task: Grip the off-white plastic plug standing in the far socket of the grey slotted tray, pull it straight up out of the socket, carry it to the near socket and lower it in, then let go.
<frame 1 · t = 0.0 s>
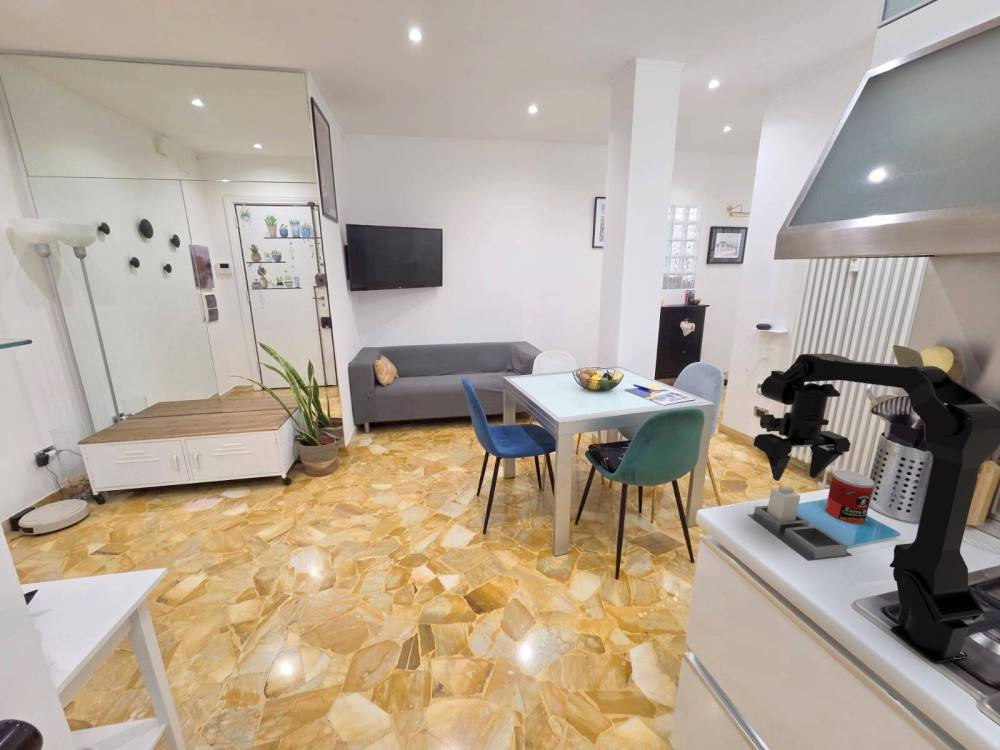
hand: (794, 478, 90), 15 cm above the worktop, fingers open, 9 cm apart
plug: (779, 522, 98), point 1 cm above the worktop, touching grey slotted tray
canned food: (843, 518, 101), on the worktop
grey slotted tray: (795, 536, 94), on the worktop
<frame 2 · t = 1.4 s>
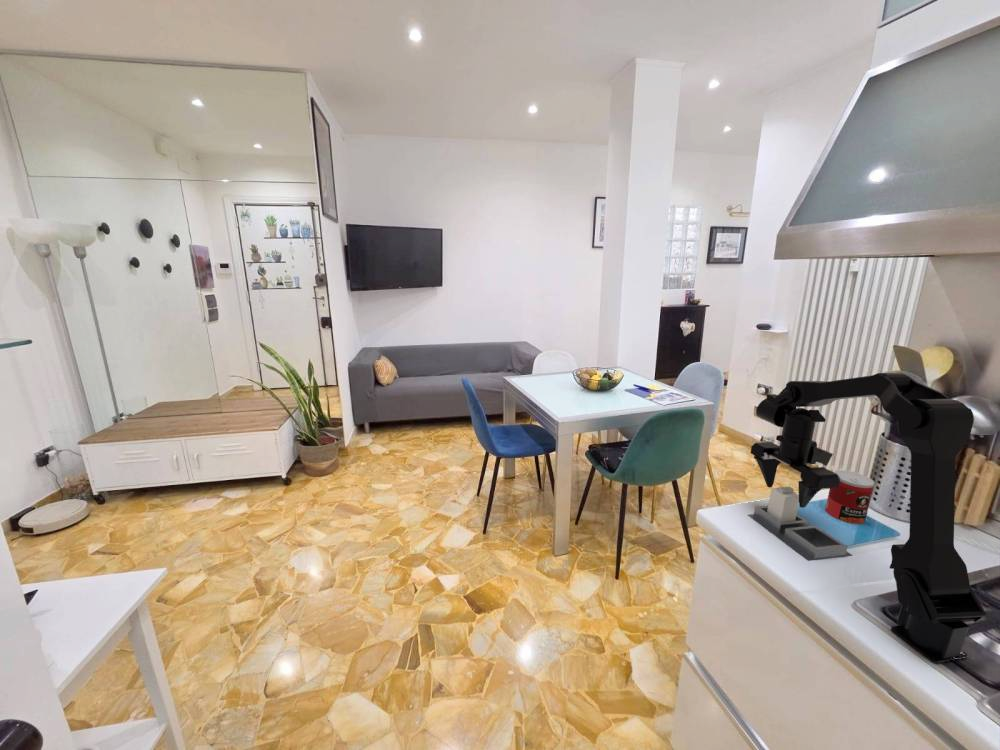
hand: (785, 496, 96), 8 cm above the worktop, fingers open, 9 cm apart
nothing on the worktop moved.
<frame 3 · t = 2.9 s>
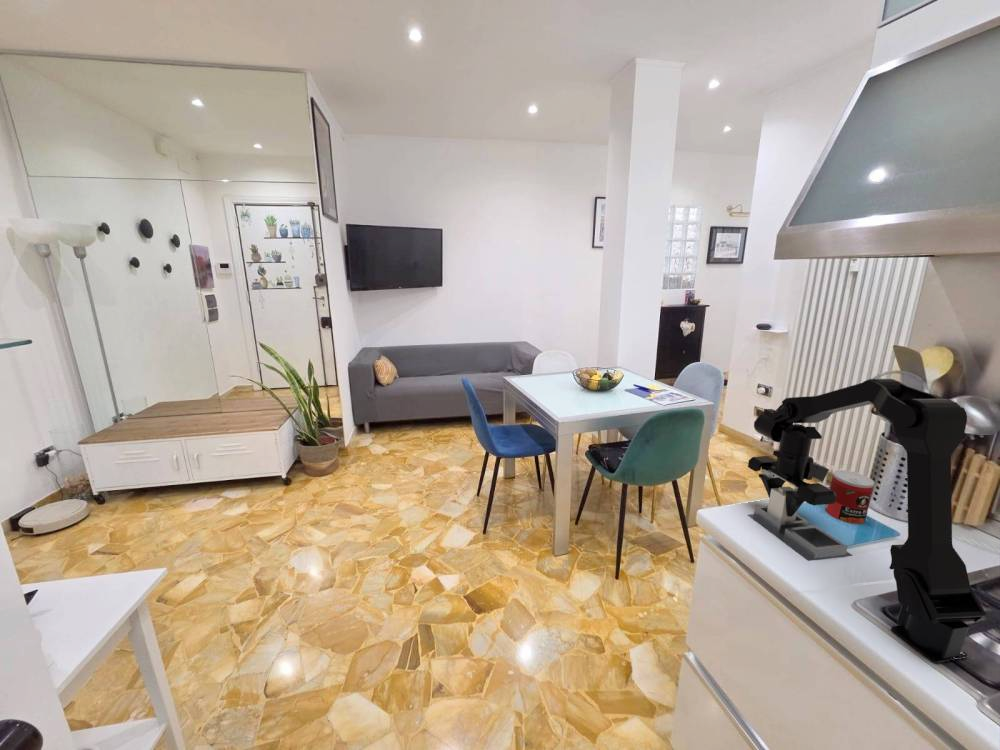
hand: (781, 511, 97), 4 cm above the worktop, fingers closed on plug, 4 cm apart
plug: (779, 522, 98), point 1 cm above the worktop, touching gripper, grey slotted tray
everything else where it was.
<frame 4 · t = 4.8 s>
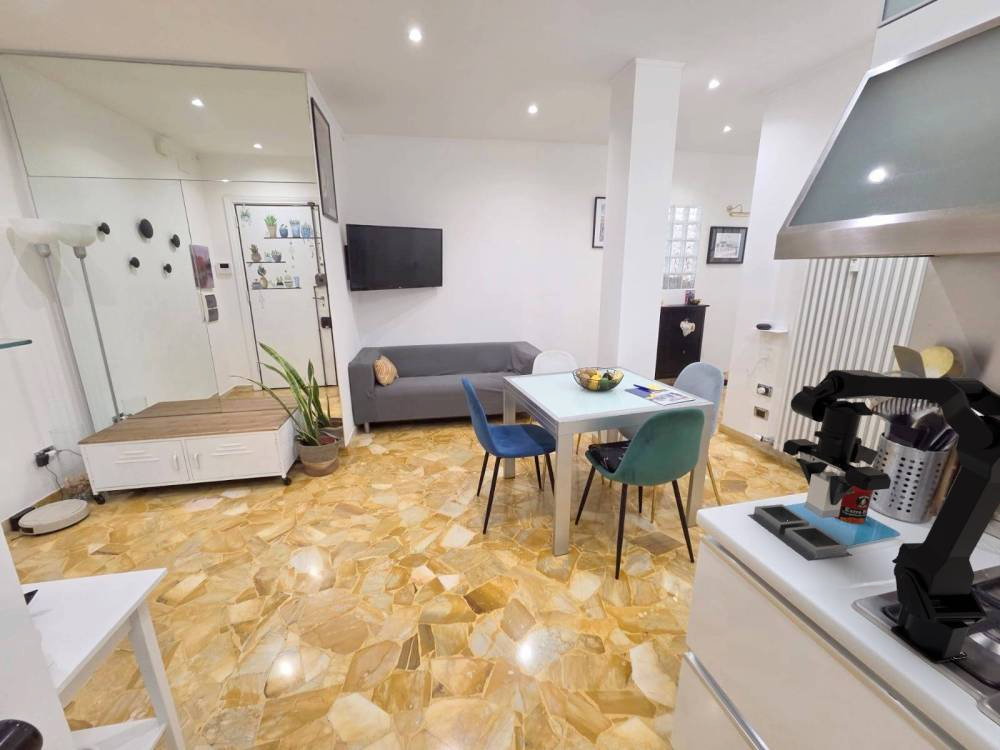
hand: (823, 499, 86), 12 cm above the worktop, fingers closed on plug, 4 cm apart
plug: (821, 511, 87), point 9 cm above the worktop, touching gripper
everything else where it was.
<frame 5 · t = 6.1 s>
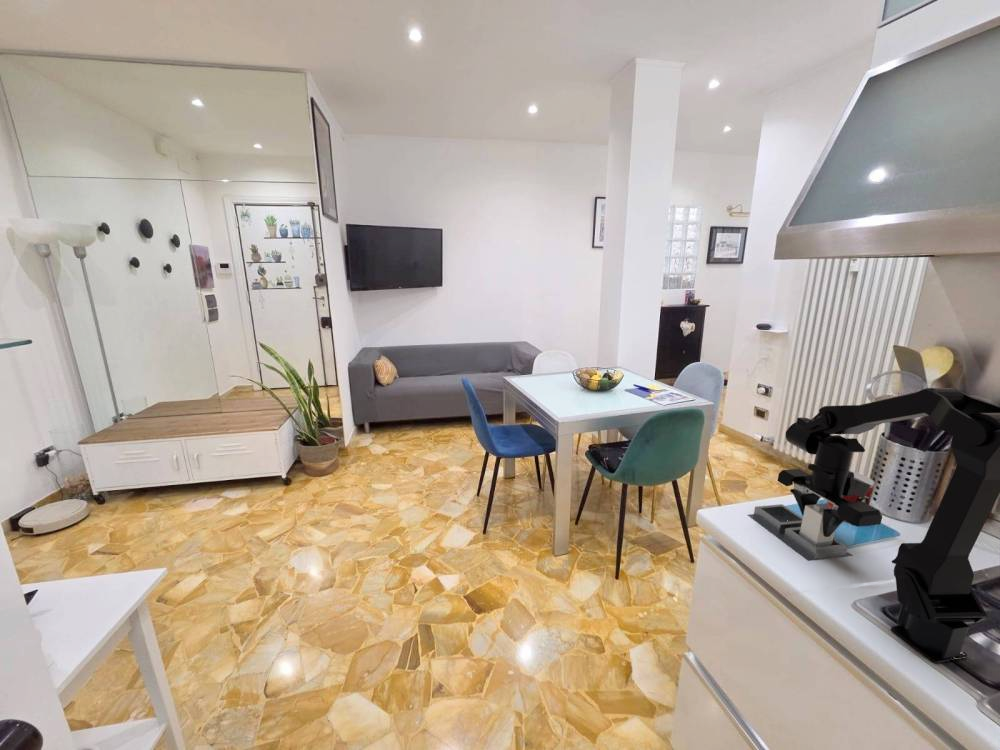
hand: (817, 530, 88), 5 cm above the worktop, fingers closed on plug, 4 cm apart
plug: (814, 542, 89), point 2 cm above the worktop, touching gripper
everything else where it was.
when the fingers open (4 cm above the worktop, at t = 6.9 s): plug stays where it is, resting on grey slotted tray.
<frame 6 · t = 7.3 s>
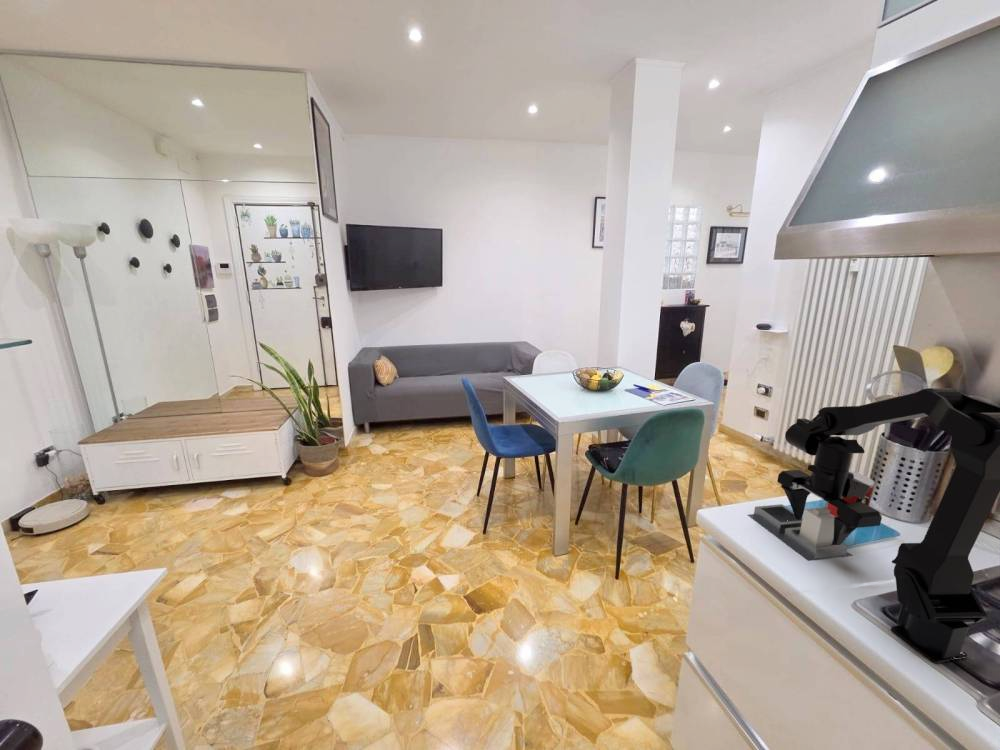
hand: (816, 531, 88), 4 cm above the worktop, fingers open, 9 cm apart
plug: (813, 546, 89), point 1 cm above the worktop, touching grey slotted tray
everything else where it was.
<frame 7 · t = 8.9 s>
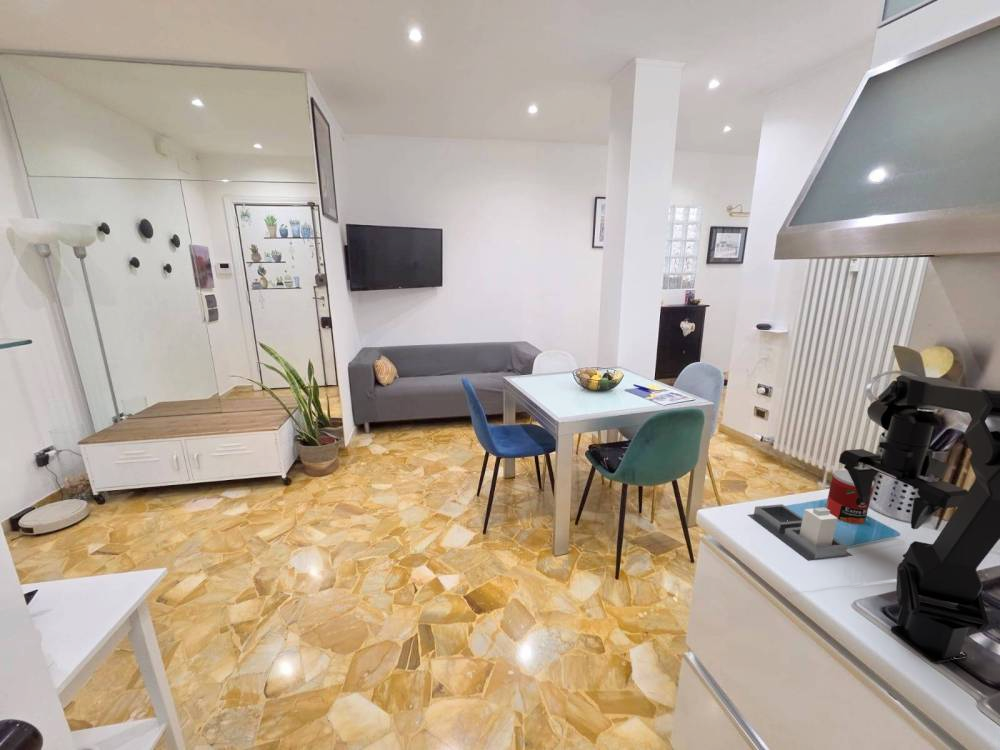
hand: (887, 514, 80), 12 cm above the worktop, fingers open, 9 cm apart
nothing on the worktop moved.
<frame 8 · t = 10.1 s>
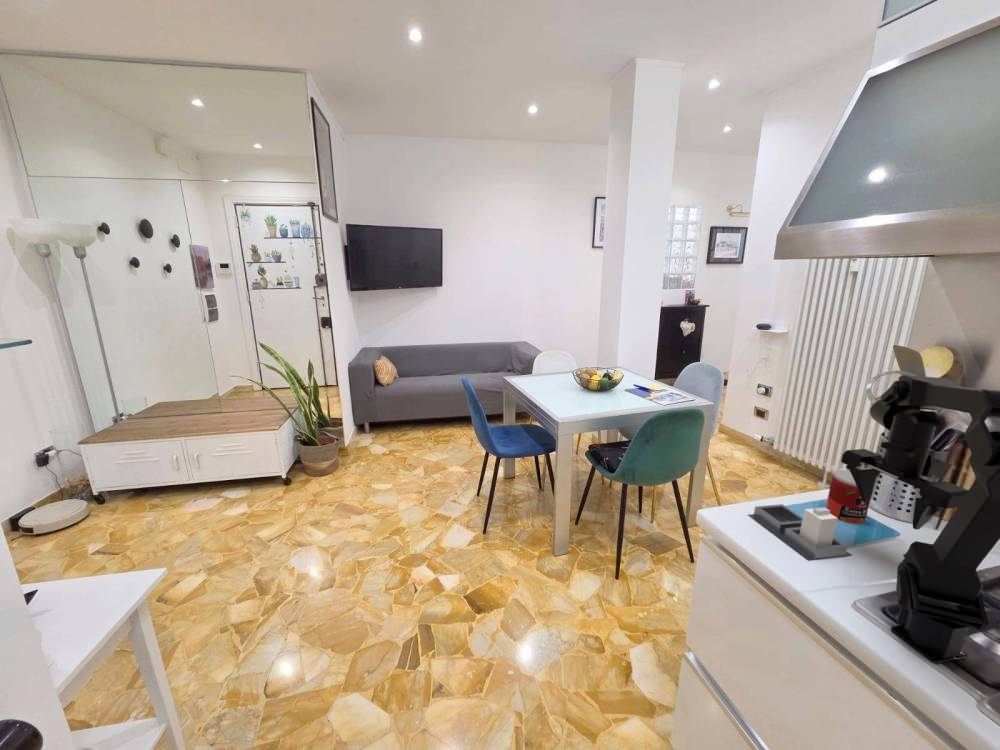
hand: (889, 515, 80), 13 cm above the worktop, fingers open, 9 cm apart
nothing on the worktop moved.
at the end: plug 0.1 cm from the target spot on the grey slotted tray, point 0.8 cm above the grey slotted tray's base; plug tilted 0°; the gripper is holding nothing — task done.
